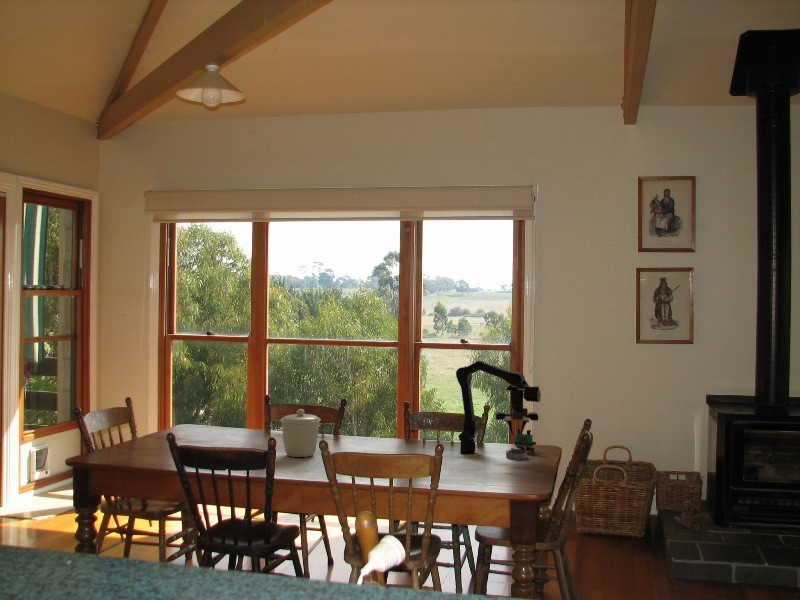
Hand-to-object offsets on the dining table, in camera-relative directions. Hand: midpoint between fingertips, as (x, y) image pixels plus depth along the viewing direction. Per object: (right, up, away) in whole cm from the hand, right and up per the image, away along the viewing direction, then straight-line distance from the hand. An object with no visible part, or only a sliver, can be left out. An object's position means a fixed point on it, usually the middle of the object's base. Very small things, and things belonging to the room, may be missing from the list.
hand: (516, 435), depth 337 cm
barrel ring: (0, -10, 0) cm, 10 cm away
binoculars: (+6, -10, +15) cm, 19 cm away
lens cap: (0, -10, 0) cm, 10 cm away
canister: (-97, -10, +2) cm, 98 cm away
